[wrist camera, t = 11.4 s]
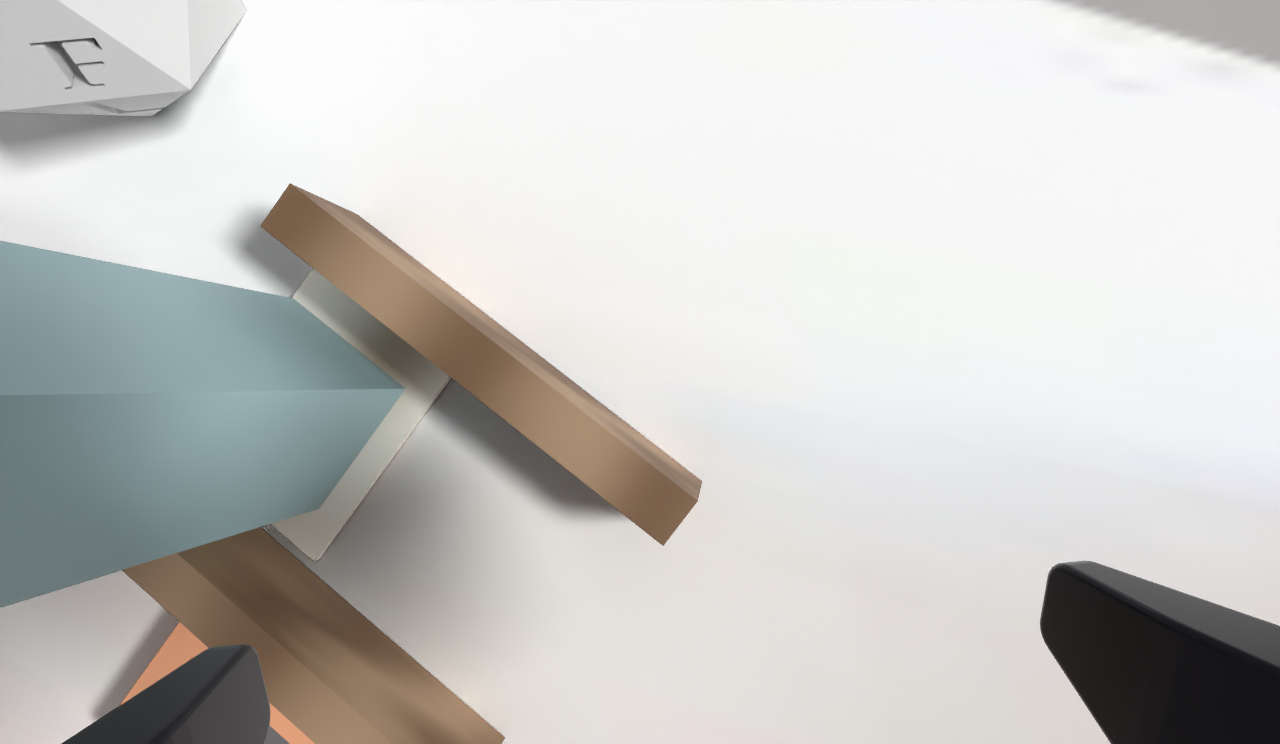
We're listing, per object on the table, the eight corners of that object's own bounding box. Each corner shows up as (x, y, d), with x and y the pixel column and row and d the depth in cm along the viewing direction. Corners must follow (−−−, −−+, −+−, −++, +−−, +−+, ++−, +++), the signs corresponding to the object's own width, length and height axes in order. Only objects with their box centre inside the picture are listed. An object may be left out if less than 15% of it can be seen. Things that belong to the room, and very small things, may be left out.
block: (405, 388, 22) (-12, 396, 9) (318, 508, 22) (-196, 668, 10) (293, 298, 22) (-241, 193, 10) (210, 417, 23) (-409, 458, 10)
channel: (702, 481, 21) (697, 500, 17) (477, 773, 22) (430, 847, 18) (356, 214, 22) (289, 183, 19) (159, 494, 23) (59, 514, 20)
